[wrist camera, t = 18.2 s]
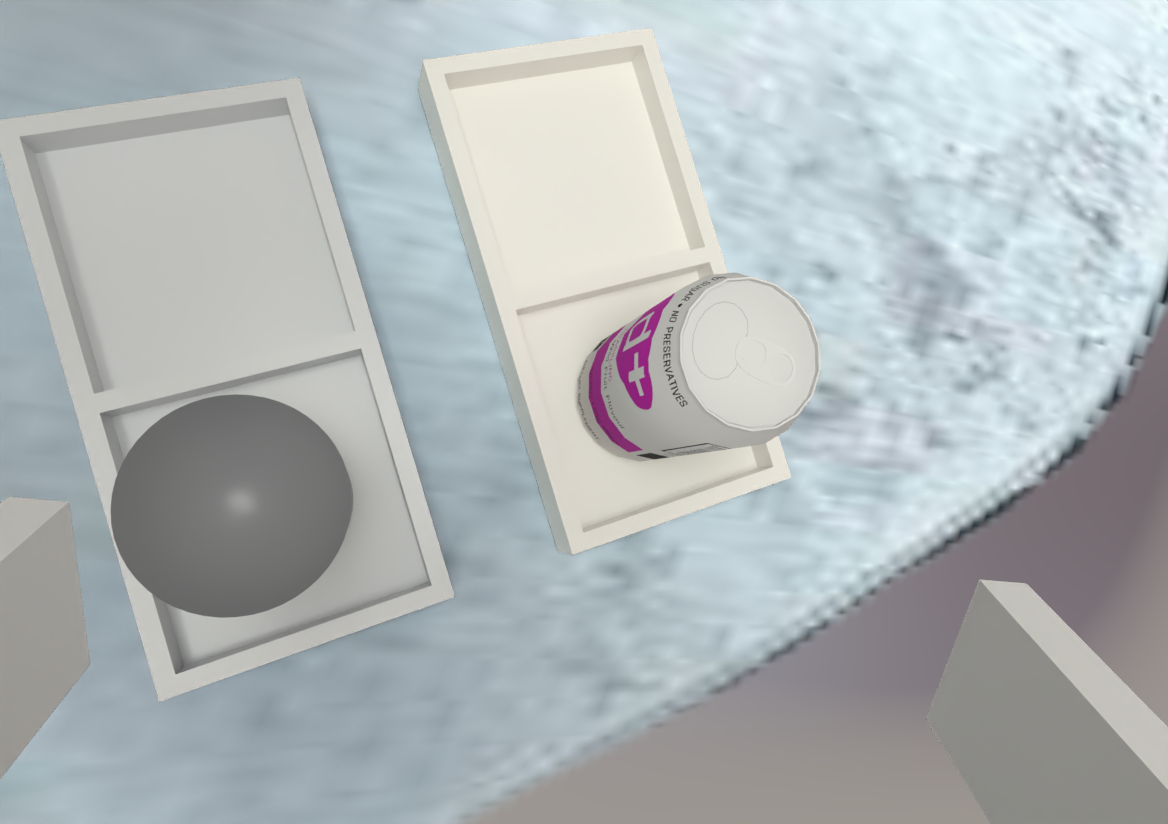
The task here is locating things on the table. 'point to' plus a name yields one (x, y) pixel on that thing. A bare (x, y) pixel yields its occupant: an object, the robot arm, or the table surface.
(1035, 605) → the robot arm
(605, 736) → the table surface
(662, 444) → the supplement can
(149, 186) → the tray
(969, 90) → the table surface
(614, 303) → the tray
